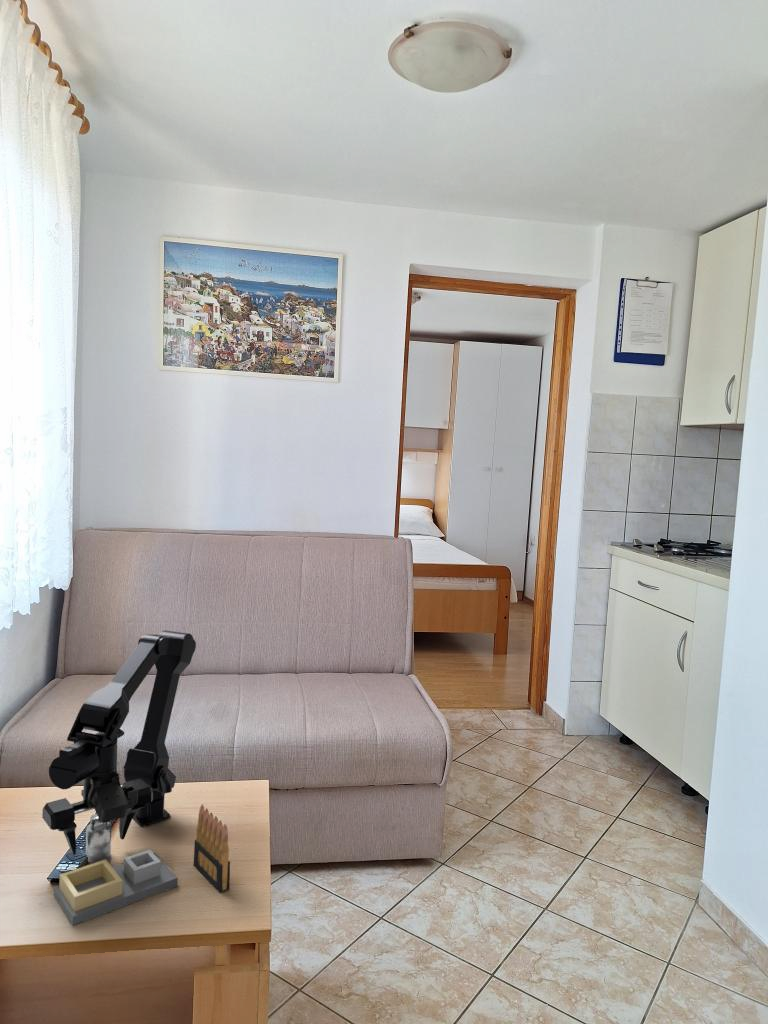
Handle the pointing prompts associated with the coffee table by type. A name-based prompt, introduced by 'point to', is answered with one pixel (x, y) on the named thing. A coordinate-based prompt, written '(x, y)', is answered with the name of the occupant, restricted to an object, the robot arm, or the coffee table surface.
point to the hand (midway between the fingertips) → (98, 846)
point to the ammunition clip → (212, 850)
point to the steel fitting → (98, 840)
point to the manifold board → (111, 885)
